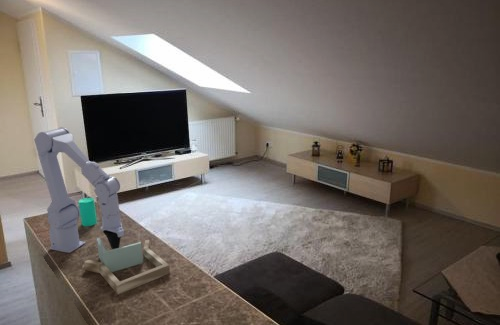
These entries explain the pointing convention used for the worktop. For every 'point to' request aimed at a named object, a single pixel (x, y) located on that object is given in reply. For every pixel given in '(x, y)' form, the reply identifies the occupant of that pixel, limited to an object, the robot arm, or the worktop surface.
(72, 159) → the robot arm
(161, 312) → the worktop surface
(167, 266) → the pocket
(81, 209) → the candle
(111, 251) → the l-shaped corner panel
